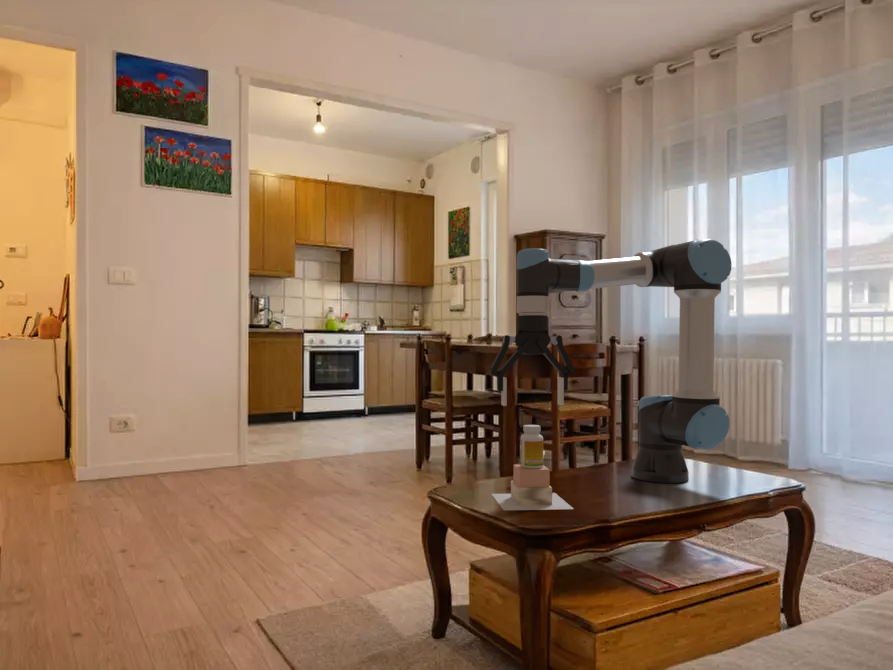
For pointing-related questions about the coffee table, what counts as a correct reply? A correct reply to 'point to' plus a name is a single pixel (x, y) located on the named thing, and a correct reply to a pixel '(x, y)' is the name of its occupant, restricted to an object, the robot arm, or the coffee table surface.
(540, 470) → the tower top block
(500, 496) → the tower mat
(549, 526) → the coffee table surface
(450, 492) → the coffee table surface
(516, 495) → the tower base block
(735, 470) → the coffee table surface
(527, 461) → the supplement bottle
